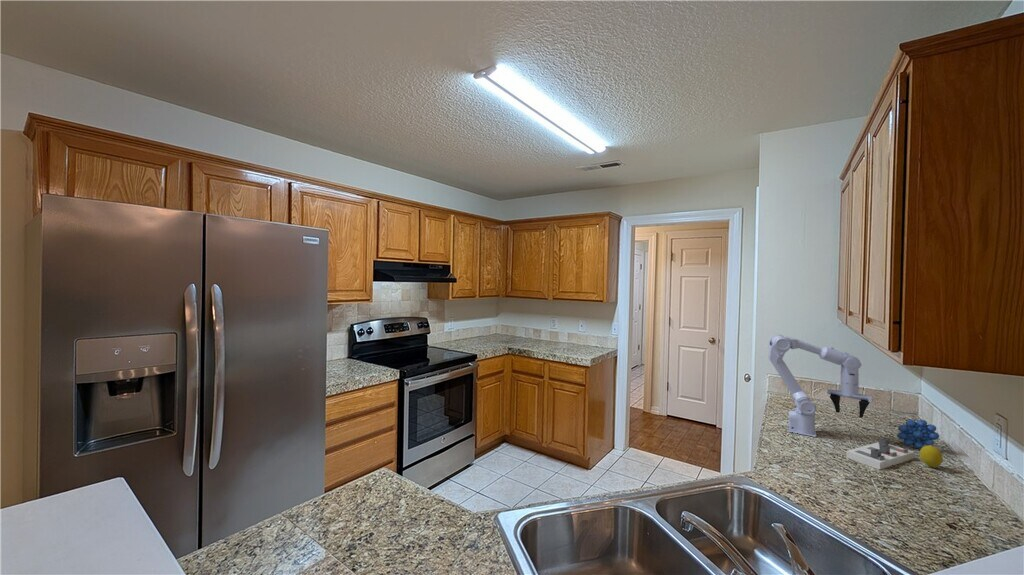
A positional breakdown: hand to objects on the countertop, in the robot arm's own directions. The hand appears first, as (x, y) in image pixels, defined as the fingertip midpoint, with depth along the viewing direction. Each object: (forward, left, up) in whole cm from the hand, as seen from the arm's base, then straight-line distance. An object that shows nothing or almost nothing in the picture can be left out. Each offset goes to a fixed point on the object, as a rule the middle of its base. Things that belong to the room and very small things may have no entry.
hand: (849, 414), depth 160 cm
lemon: (+21, -15, -11) cm, 28 cm away
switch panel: (+7, -16, -10) cm, 21 cm away
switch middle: (+9, -17, -8) cm, 21 cm away
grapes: (+21, +5, -11) cm, 24 cm away
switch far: (+9, -8, -8) cm, 15 cm away
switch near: (+5, -24, -8) cm, 26 cm away
